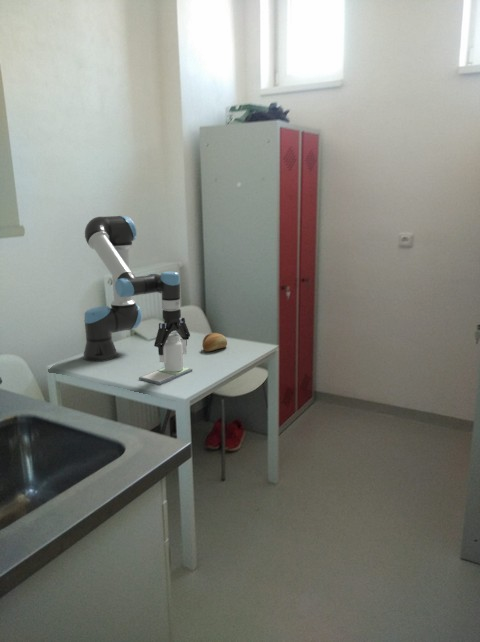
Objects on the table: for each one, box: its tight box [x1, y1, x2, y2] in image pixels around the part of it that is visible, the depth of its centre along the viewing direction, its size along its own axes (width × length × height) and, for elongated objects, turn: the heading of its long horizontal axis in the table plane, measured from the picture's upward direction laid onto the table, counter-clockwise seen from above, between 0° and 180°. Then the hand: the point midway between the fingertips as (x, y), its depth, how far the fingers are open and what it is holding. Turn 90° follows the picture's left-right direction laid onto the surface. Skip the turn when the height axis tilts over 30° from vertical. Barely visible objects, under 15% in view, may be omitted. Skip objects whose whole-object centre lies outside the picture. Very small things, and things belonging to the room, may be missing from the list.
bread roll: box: [201, 332, 228, 352], centre depth 249 cm, size 10×15×8 cm, turn 142°
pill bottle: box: [163, 333, 184, 372], centre depth 215 cm, size 8×8×15 cm
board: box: [138, 366, 193, 386], centre depth 213 cm, size 12×20×1 cm, turn 146°
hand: (173, 357), depth 216 cm, fingers open, 13 cm apart
